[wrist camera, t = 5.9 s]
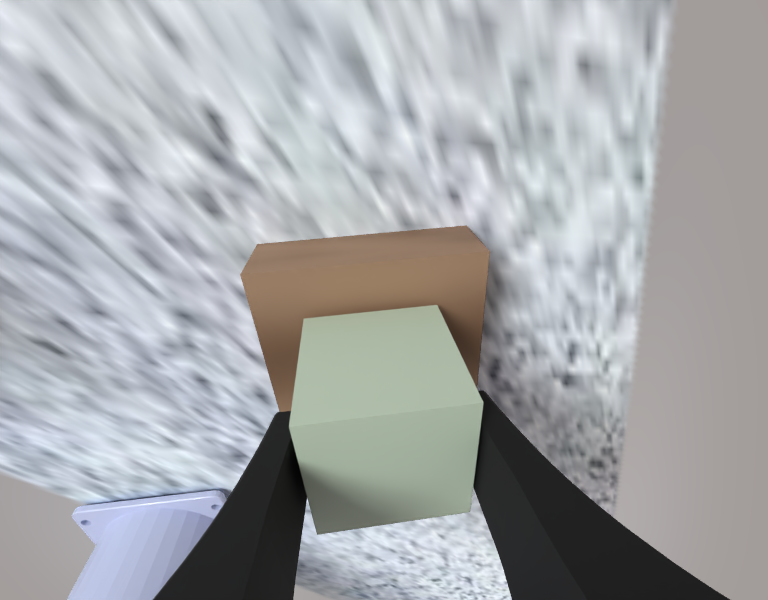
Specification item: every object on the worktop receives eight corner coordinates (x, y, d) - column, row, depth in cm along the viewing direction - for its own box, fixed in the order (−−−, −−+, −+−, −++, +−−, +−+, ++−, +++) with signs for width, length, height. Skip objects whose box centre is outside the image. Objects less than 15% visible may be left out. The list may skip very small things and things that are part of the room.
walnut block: (455, 375, 18) (473, 421, 16) (296, 392, 18) (288, 443, 15) (463, 222, 14) (489, 251, 12) (259, 240, 14) (240, 274, 11)
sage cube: (434, 400, 15) (470, 512, 11) (321, 414, 14) (317, 534, 10) (437, 304, 12) (483, 402, 9) (303, 318, 12) (289, 427, 8)
